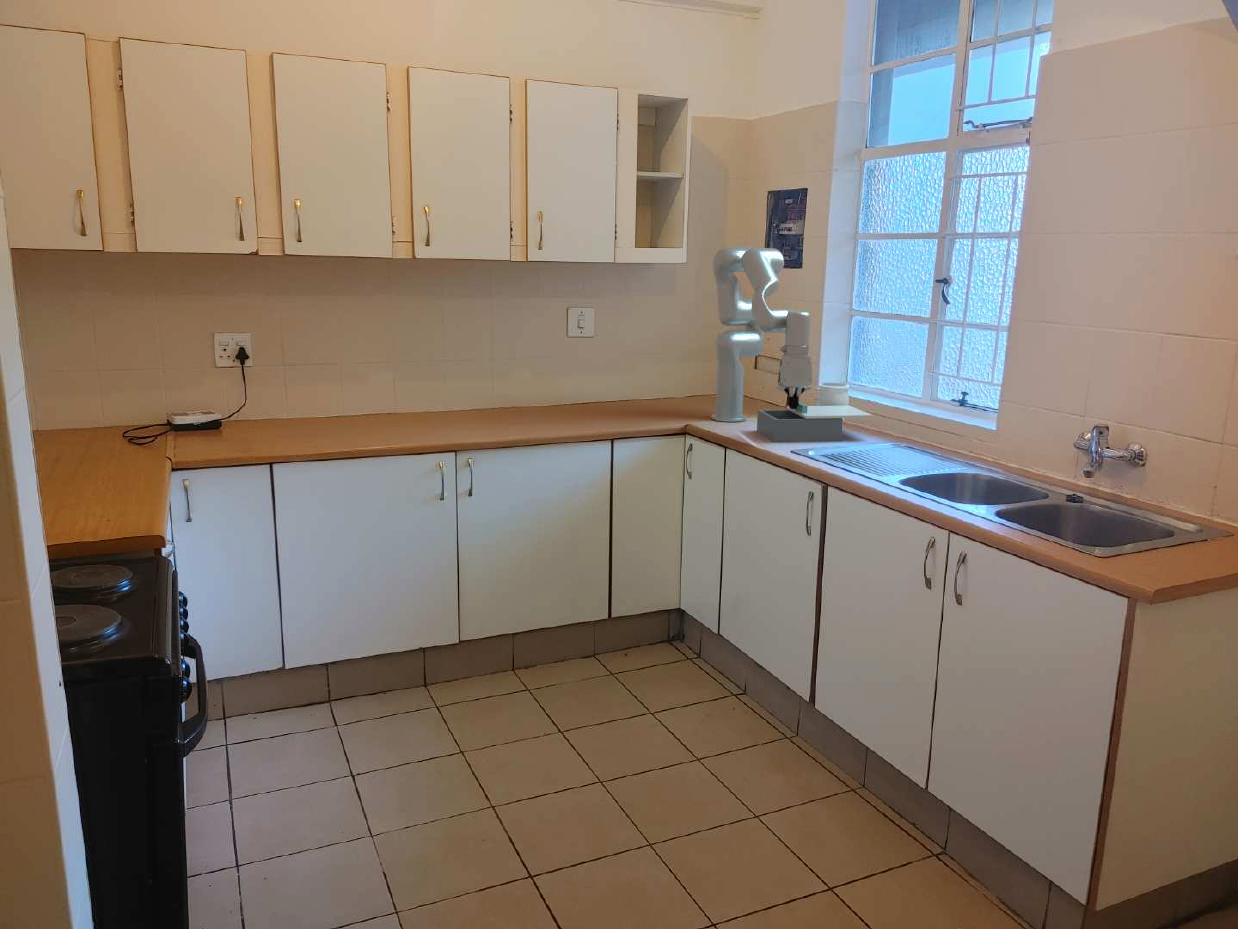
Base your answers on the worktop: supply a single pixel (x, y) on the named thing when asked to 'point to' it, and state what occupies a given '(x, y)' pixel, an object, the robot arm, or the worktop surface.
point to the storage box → (797, 427)
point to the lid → (828, 412)
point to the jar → (833, 395)
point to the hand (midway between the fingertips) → (792, 408)
